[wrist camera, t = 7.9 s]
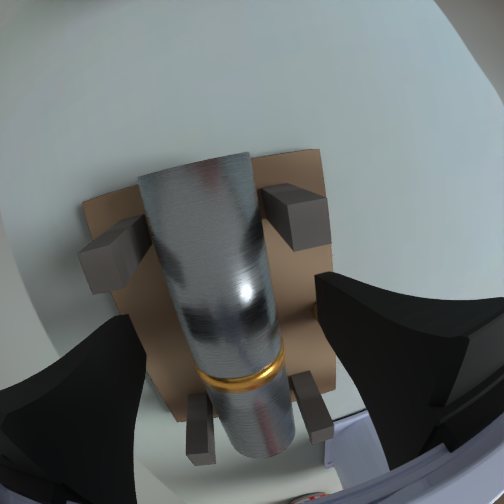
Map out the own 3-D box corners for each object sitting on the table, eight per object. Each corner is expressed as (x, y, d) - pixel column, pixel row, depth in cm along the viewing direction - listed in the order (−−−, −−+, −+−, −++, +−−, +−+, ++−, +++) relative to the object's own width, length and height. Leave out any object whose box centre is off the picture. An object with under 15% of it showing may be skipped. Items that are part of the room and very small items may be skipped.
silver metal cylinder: (285, 400, 17) (304, 447, 13) (225, 415, 16) (234, 465, 12) (241, 153, 12) (262, 149, 8) (147, 175, 11) (122, 181, 7)
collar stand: (330, 379, 18) (360, 438, 13) (177, 411, 17) (174, 475, 12) (312, 149, 13) (371, 148, 7) (90, 199, 12) (27, 227, 7)
